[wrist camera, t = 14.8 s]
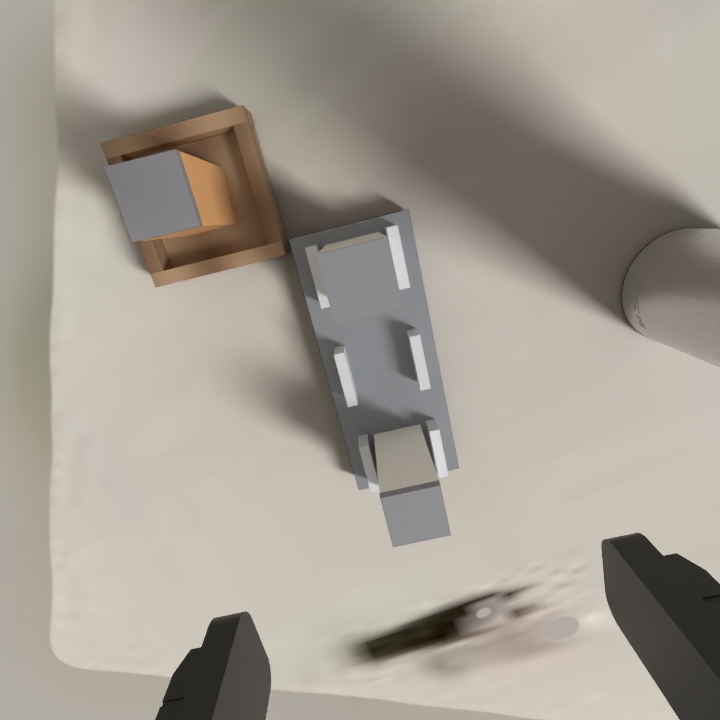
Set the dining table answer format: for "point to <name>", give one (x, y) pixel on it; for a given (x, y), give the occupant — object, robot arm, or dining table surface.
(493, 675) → the dining table surface
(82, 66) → the dining table surface
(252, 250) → the tray
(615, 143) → the dining table surface
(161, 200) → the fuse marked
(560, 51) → the dining table surface
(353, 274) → the fuse block
